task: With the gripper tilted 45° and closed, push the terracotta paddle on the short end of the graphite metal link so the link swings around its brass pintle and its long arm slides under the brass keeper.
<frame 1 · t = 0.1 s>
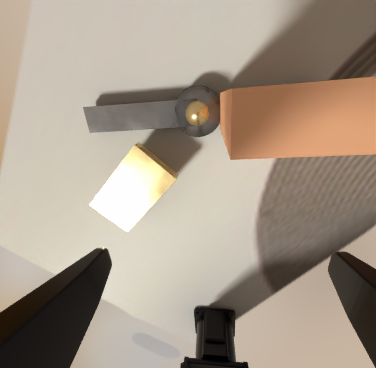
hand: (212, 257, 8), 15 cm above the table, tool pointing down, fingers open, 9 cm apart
keeper: (128, 195, 24), on the table
link: (194, 117, 14), point 6 cm above the table, hinge at 0.0°
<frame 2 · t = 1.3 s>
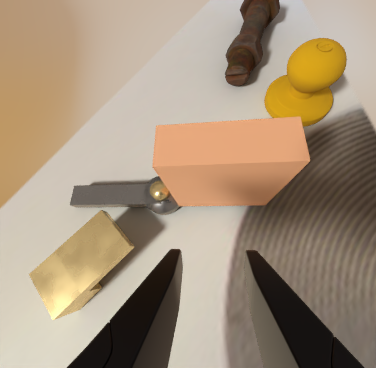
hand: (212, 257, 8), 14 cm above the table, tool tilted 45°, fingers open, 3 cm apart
doorknob: (294, 103, 26), on the table
bolt: (245, 55, 31), on the table
keeper: (78, 279, 21), on the table
link: (150, 178, 18), point 6 cm above the table, hinge at 0.0°
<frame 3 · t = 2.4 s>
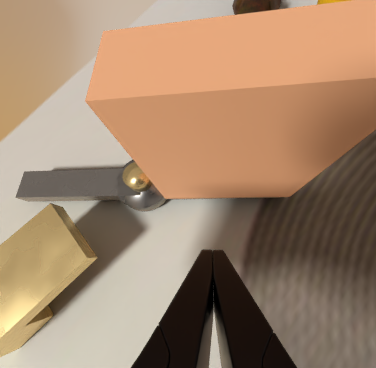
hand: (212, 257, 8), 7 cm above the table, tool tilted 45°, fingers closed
bolt: (256, 11, 24), on the table
keeper: (23, 302, 15), on the table
link: (116, 154, 12), point 6 cm above the table, hinge at 0.0°
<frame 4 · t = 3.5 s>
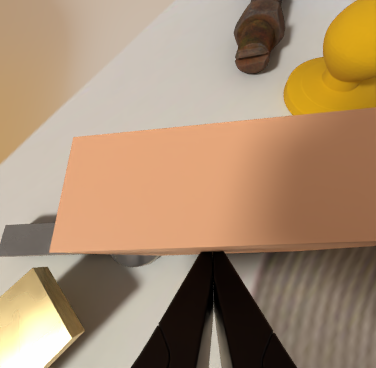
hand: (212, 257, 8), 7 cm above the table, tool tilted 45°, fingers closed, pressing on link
doorknob: (326, 98, 19), on the table
bolt: (257, 35, 23), on the table
link: (103, 225, 10), point 6 cm above the table, hinge at 2.4°, touching gripper
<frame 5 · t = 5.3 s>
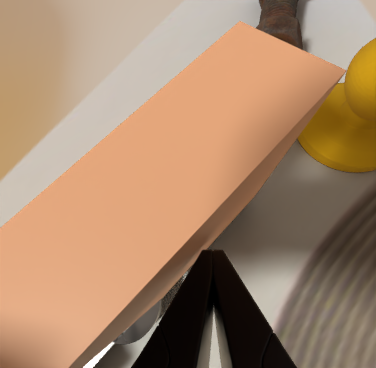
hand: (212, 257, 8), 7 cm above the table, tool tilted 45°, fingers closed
doorknob: (343, 130, 17), on the table
bolt: (268, 50, 21), on the table
link: (81, 326, 8), point 6 cm above the table, hinge at 46.0°
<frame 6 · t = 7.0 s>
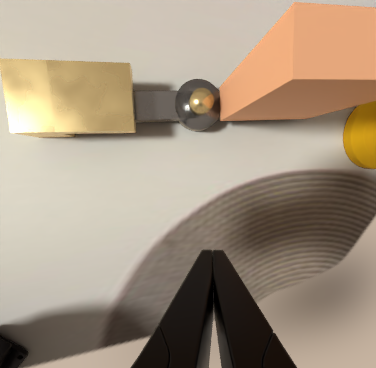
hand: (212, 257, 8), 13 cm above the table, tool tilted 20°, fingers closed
doorknob: (370, 134, 23), on the table
keeper: (54, 108, 18), on the table
link: (212, 87, 13), point 6 cm above the table, hinge at 46.0°
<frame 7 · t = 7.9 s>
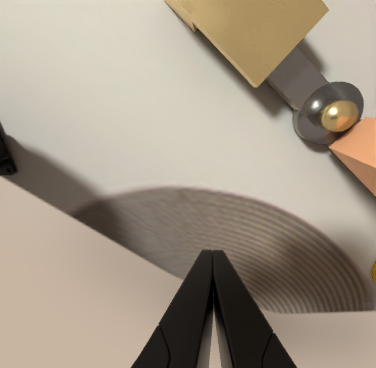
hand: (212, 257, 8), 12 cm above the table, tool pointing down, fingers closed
link: (375, 122, 11), point 6 cm above the table, hinge at 46.0°
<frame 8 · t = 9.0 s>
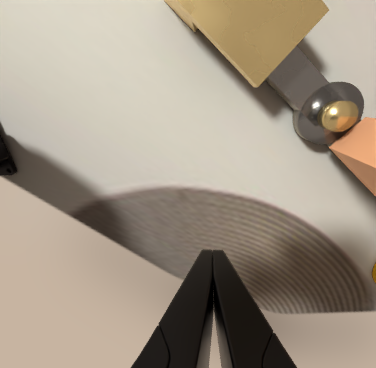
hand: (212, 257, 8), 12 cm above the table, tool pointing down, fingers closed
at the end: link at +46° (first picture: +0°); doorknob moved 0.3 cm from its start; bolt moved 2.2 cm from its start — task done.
